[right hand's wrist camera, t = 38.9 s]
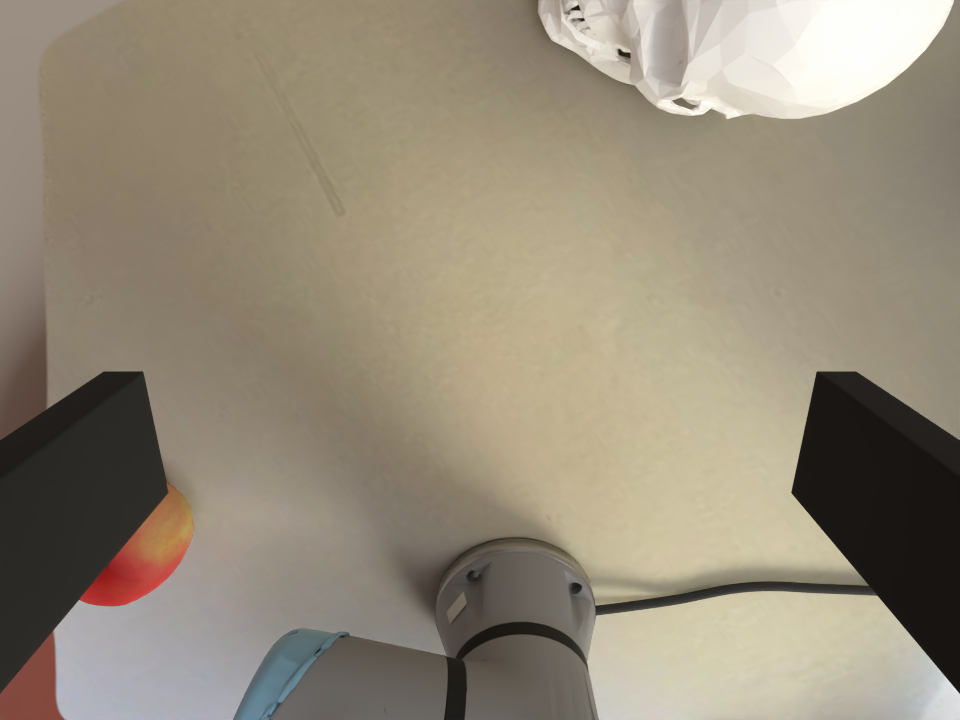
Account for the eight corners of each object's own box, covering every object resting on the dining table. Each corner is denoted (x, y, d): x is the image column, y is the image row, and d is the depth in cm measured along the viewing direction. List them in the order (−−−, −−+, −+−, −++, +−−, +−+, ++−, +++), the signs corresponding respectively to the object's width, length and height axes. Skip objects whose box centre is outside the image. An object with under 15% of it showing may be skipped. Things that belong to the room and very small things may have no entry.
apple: (203, 554, 59) (151, 635, 49) (101, 529, 58) (27, 608, 48) (219, 469, 55) (166, 540, 46) (110, 441, 54) (33, 508, 45)
